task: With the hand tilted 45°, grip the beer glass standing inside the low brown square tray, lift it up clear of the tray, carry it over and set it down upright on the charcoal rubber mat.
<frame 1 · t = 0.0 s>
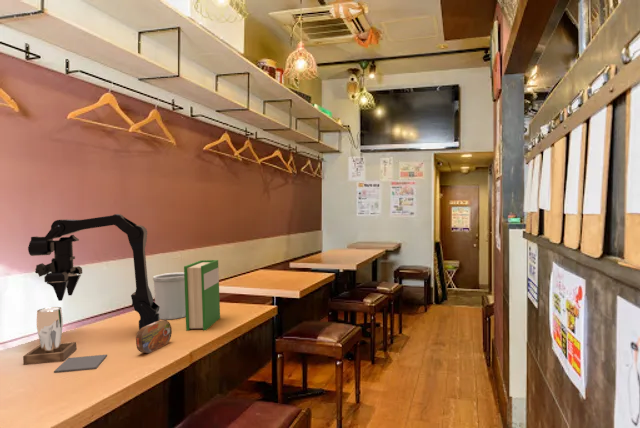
hand: (65, 297, 154), 15 cm above the table, tool pointing down, fingers open, 9 cm apart
brown square tray: (51, 356, 135), on the table
hardback book: (204, 324, 169), on the table
rubber mat: (81, 364, 128), on the table
utensil holder: (172, 316, 184), on the table
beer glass: (51, 357, 135), resting in brown square tray
tin: (154, 349, 141), on the table
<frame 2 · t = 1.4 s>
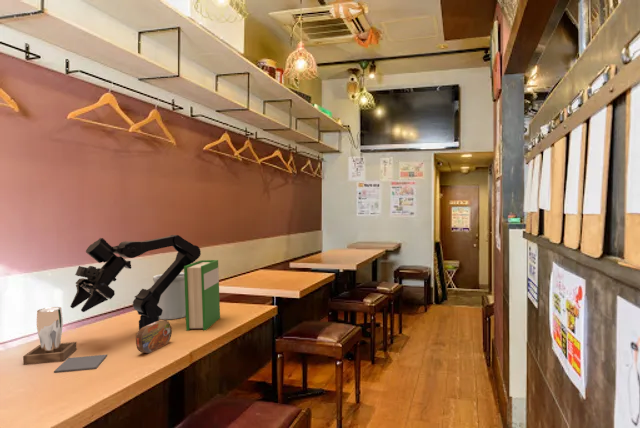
hand: (76, 309, 141), 13 cm above the table, tool tilted 45°, fingers open, 9 cm apart
nothing on the table moved.
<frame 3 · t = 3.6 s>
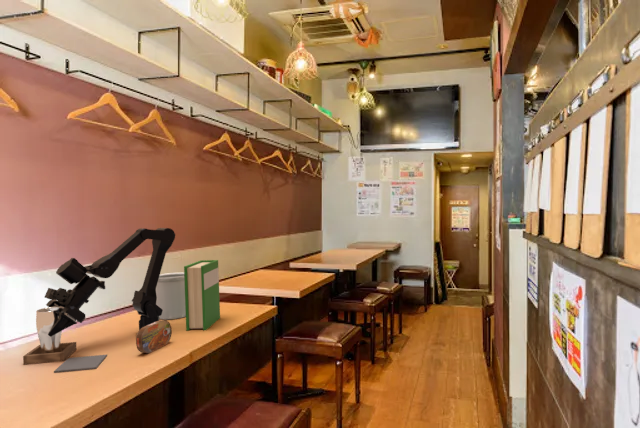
hand: (45, 333, 134), 8 cm above the table, tool tilted 45°, fingers closed on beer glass, 7 cm apart
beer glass: (51, 357, 135), resting in brown square tray, touching gripper
everything else where it was.
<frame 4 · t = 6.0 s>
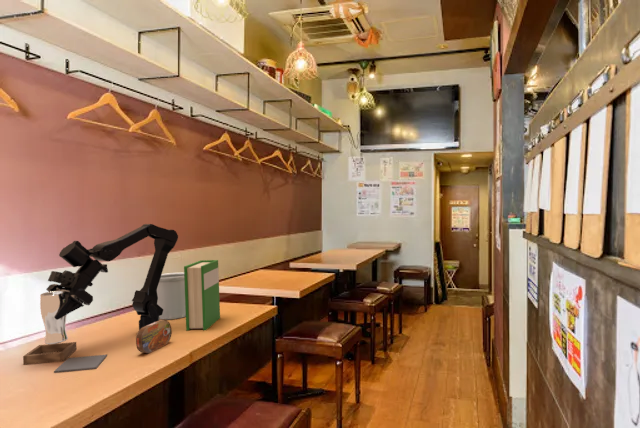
hand: (50, 317, 132), 13 cm above the table, tool tilted 45°, fingers closed on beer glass, 7 cm apart
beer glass: (56, 341, 133), point 5 cm above the table, touching gripper
everything else where it was.
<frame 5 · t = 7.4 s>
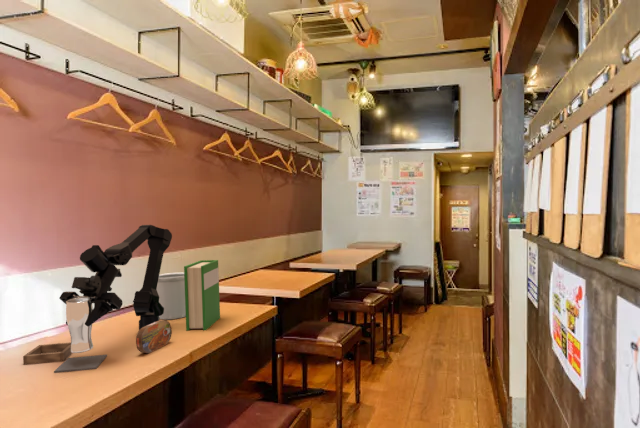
hand: (77, 325, 127), 12 cm above the table, tool tilted 45°, fingers closed on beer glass, 7 cm apart
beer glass: (81, 350, 128), point 4 cm above the table, touching gripper
everything else where it was.
when the fingers open (9 cm above the table, at t = 8.4 s): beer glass stays where it is, resting on rubber mat.
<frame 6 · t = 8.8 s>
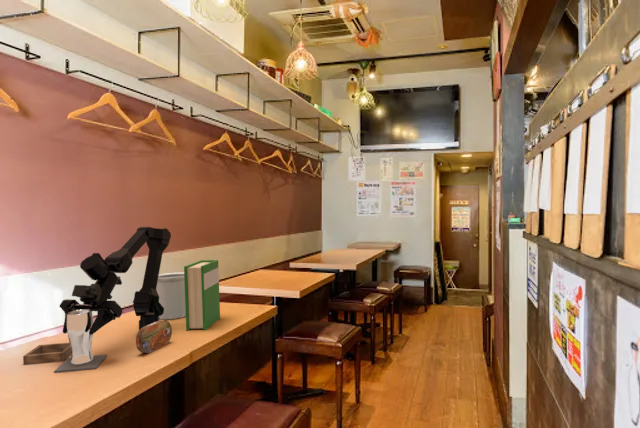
hand: (76, 333, 127), 10 cm above the table, tool tilted 45°, fingers open, 9 cm apart
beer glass: (82, 362, 128), resting on rubber mat
everything else where it was.
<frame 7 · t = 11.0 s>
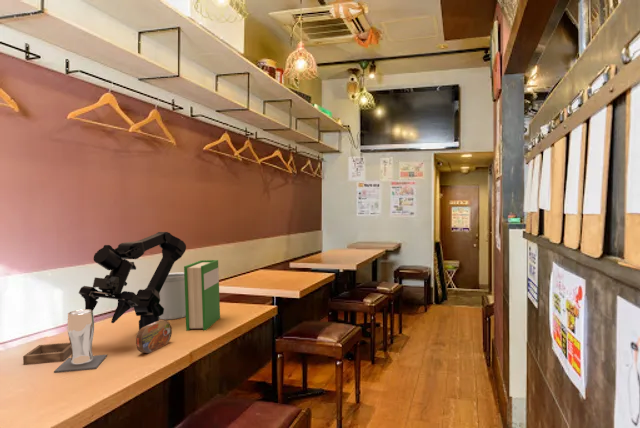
hand: (99, 320, 138), 10 cm above the table, tool tilted 35°, fingers open, 9 cm apart
nothing on the table moved.
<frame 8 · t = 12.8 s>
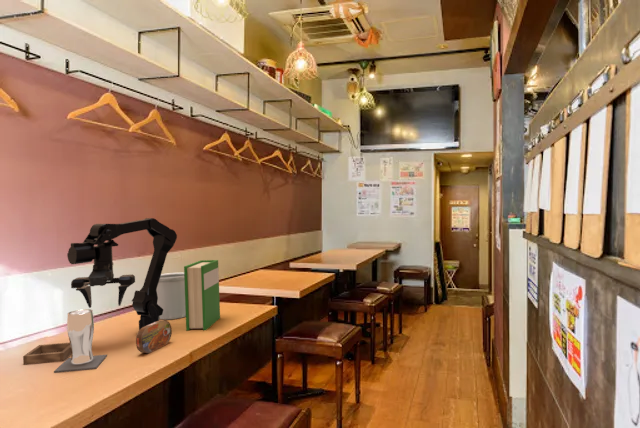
hand: (104, 306, 146), 13 cm above the table, tool pointing down, fingers open, 9 cm apart
nothing on the table moved.
at the end: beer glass 0.4 cm off-centre on the rubber mat, point 0.3 cm above the rubber mat's base; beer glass tilted 0°; the gripper is holding nothing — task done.
